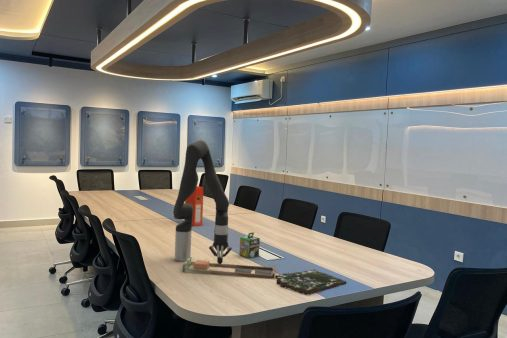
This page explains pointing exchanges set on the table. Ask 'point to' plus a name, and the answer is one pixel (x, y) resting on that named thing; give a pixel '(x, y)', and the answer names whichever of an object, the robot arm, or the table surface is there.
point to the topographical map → (308, 281)
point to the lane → (239, 271)
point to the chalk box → (249, 246)
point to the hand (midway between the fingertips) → (219, 263)
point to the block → (201, 265)
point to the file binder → (196, 206)
